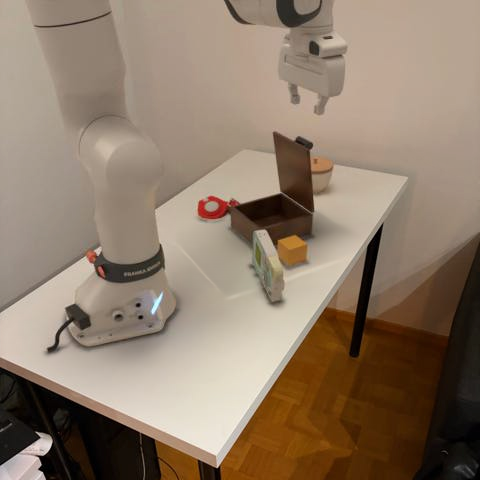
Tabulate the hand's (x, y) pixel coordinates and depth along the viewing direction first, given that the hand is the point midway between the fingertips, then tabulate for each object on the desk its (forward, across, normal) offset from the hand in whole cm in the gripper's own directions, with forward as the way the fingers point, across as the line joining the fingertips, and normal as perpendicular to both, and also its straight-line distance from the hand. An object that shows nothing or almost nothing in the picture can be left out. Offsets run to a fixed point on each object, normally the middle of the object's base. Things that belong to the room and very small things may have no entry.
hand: (306, 108), depth 110 cm
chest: (+29, 0, -9) cm, 31 cm away
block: (+29, +14, -12) cm, 35 cm away
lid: (+15, 0, -3) cm, 15 cm away
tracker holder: (+30, -16, -16) cm, 37 cm away
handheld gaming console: (+29, +19, -22) cm, 41 cm away
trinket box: (+30, -16, +16) cm, 37 cm away
